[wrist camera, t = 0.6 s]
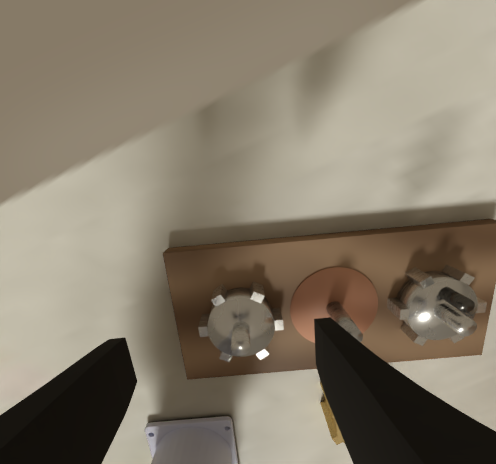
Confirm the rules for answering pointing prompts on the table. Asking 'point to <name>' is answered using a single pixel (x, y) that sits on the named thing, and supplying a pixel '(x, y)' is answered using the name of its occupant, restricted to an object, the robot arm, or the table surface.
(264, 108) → the table surface
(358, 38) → the table surface
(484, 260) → the gear board
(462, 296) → the mounted gears
